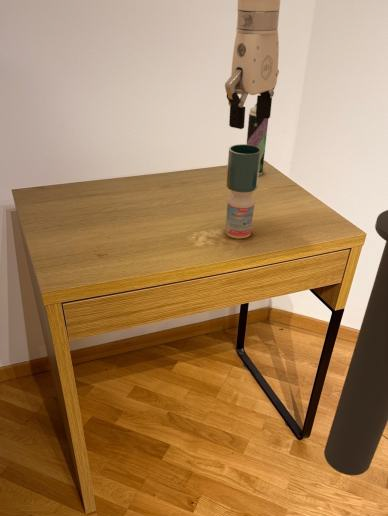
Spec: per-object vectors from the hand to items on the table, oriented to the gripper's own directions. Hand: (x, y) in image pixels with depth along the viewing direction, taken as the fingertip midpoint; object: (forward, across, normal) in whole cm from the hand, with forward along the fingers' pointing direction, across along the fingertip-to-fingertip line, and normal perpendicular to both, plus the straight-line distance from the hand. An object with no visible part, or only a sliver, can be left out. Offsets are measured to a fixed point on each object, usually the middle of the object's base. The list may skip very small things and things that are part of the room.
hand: (250, 122), depth 100 cm
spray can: (+25, +36, +20) cm, 48 cm away
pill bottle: (+25, -1, +1) cm, 25 cm away
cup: (+13, 0, +1) cm, 13 cm away
